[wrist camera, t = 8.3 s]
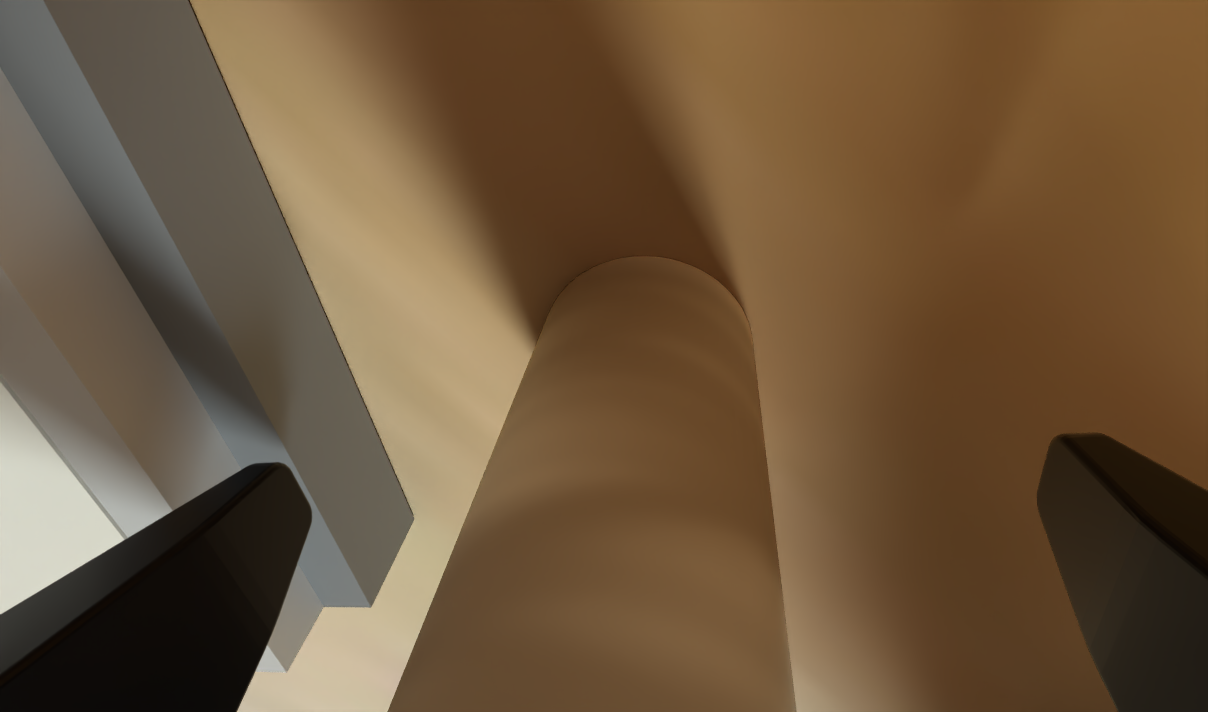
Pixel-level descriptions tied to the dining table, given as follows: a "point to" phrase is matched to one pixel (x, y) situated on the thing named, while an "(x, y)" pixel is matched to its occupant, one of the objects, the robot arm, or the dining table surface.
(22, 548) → the shutter
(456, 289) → the dining table surface
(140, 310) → the grey sliding panel frame
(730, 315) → the maple pin
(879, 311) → the dining table surface
